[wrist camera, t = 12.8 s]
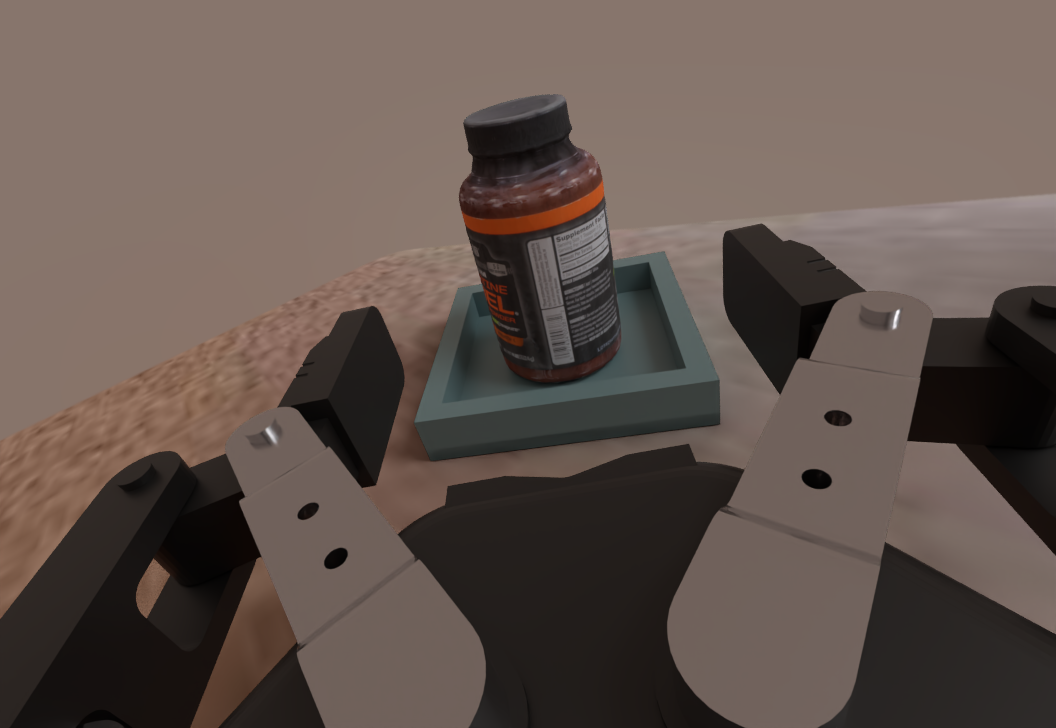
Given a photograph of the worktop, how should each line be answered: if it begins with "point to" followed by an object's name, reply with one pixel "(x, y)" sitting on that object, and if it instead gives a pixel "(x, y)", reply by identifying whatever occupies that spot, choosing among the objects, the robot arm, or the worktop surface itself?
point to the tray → (577, 405)
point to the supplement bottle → (541, 240)
